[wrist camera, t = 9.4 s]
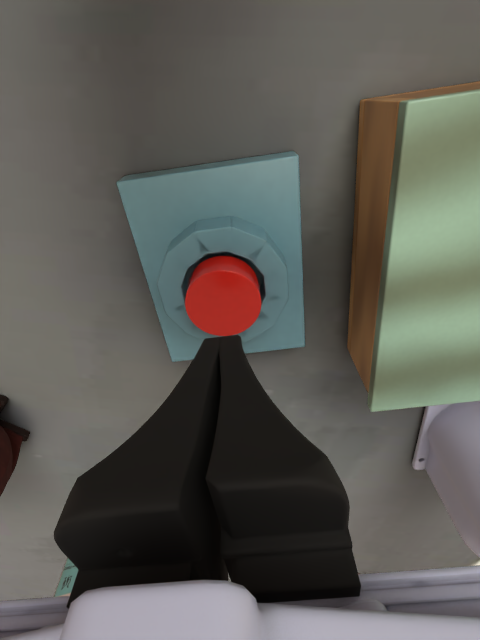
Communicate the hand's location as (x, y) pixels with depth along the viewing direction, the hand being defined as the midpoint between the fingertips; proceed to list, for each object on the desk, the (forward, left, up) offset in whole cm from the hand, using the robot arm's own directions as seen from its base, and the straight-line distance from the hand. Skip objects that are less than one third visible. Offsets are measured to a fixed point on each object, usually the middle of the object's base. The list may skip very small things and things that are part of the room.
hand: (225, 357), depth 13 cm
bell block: (0, 0, -8) cm, 8 cm away
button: (0, 0, -5) cm, 6 cm away
